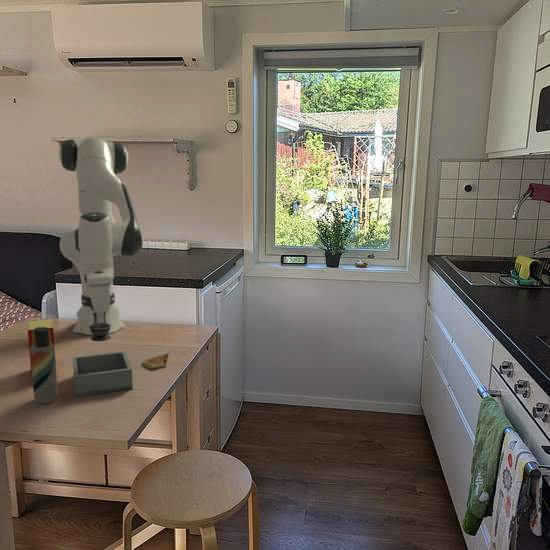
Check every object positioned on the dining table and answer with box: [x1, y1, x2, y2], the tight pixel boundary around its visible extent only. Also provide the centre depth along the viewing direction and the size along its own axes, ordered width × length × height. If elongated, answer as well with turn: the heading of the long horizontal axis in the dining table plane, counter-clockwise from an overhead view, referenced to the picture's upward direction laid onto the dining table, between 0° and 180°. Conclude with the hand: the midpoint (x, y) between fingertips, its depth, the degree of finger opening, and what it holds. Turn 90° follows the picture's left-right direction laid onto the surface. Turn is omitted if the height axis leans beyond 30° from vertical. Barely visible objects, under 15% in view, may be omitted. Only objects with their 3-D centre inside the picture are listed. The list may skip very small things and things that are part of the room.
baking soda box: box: [27, 318, 57, 383], centre depth 144 cm, size 10×6×16 cm
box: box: [72, 350, 134, 398], centre depth 141 cm, size 15×15×6 cm
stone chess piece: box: [89, 312, 111, 342], centre depth 137 cm, size 6×6×12 cm
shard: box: [141, 352, 170, 370], centre depth 157 cm, size 11×8×2 cm
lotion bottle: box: [29, 327, 59, 405], centre depth 128 cm, size 6×6×20 cm
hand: (99, 320), depth 137 cm, fingers closed on stone chess piece, 3 cm apart
